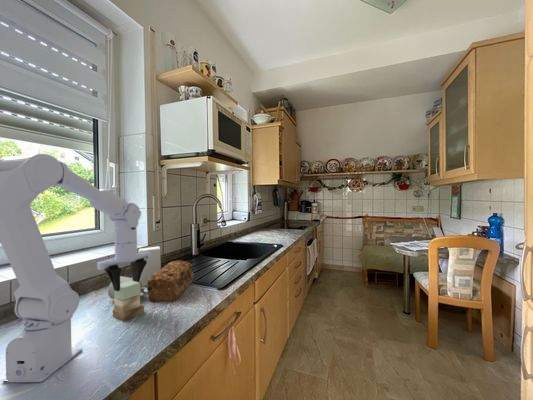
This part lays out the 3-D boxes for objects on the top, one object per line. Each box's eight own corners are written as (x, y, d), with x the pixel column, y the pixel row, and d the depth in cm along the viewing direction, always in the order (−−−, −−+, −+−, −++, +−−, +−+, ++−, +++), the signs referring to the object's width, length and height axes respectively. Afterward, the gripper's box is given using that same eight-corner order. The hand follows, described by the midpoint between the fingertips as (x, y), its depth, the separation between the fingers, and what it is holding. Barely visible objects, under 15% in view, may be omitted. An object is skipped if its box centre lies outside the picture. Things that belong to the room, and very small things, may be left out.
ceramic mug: (127, 304, 75) (127, 281, 75) (107, 302, 77) (107, 280, 77) (150, 292, 85) (150, 272, 85) (132, 291, 87) (132, 271, 87)
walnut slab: (123, 323, 64) (123, 314, 64) (112, 317, 67) (112, 309, 67) (144, 313, 69) (143, 305, 69) (133, 309, 72) (133, 301, 72)
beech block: (122, 313, 65) (122, 301, 65) (114, 308, 68) (114, 297, 68) (140, 306, 69) (139, 294, 69) (131, 302, 72) (131, 291, 72)
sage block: (123, 300, 64) (122, 288, 64) (114, 297, 67) (114, 285, 67) (140, 293, 69) (140, 282, 69) (131, 291, 71) (131, 280, 71)
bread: (170, 282, 95) (169, 259, 95) (195, 282, 95) (194, 258, 95) (145, 302, 76) (145, 273, 76) (176, 302, 76) (176, 273, 76)
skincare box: (161, 279, 99) (160, 245, 99) (161, 283, 93) (161, 248, 93) (139, 282, 95) (138, 247, 95) (138, 287, 90) (138, 250, 90)
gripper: (142, 237, 76) (143, 277, 76) (91, 245, 64) (92, 293, 64) (154, 239, 73) (155, 281, 73) (103, 247, 60) (104, 298, 60)
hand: (126, 287), depth 68 cm, fingers closed on sage block, 5 cm apart
